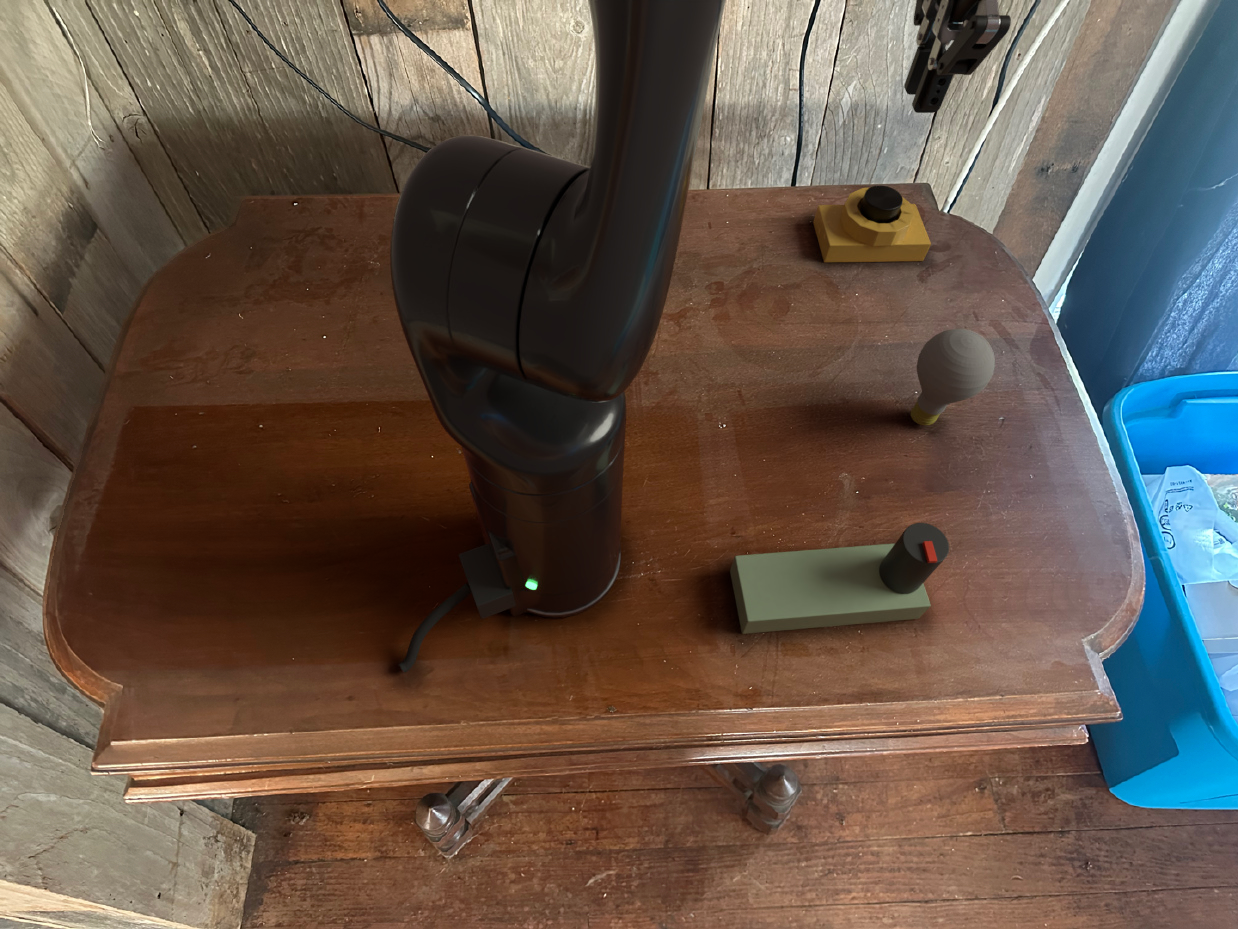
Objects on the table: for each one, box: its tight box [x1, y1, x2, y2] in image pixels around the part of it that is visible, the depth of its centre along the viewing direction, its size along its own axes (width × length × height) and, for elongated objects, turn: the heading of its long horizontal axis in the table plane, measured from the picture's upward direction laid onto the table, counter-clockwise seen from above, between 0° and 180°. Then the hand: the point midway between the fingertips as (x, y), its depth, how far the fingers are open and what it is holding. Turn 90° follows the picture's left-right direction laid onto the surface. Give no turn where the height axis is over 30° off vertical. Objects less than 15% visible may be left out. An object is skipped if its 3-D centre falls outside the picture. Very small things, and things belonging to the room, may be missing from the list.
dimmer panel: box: [729, 542, 932, 635], centre depth 54 cm, size 13×5×2 cm, turn 95°
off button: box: [860, 184, 903, 223], centre depth 72 cm, size 4×4×2 cm
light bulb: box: [910, 328, 996, 427], centre depth 60 cm, size 5×6×10 cm
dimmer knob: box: [879, 522, 950, 594], centre depth 51 cm, size 3×3×5 cm
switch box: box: [812, 187, 932, 263], centre depth 74 cm, size 10×6×4 cm, turn 92°
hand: (920, 100), depth 63 cm, fingers closed
